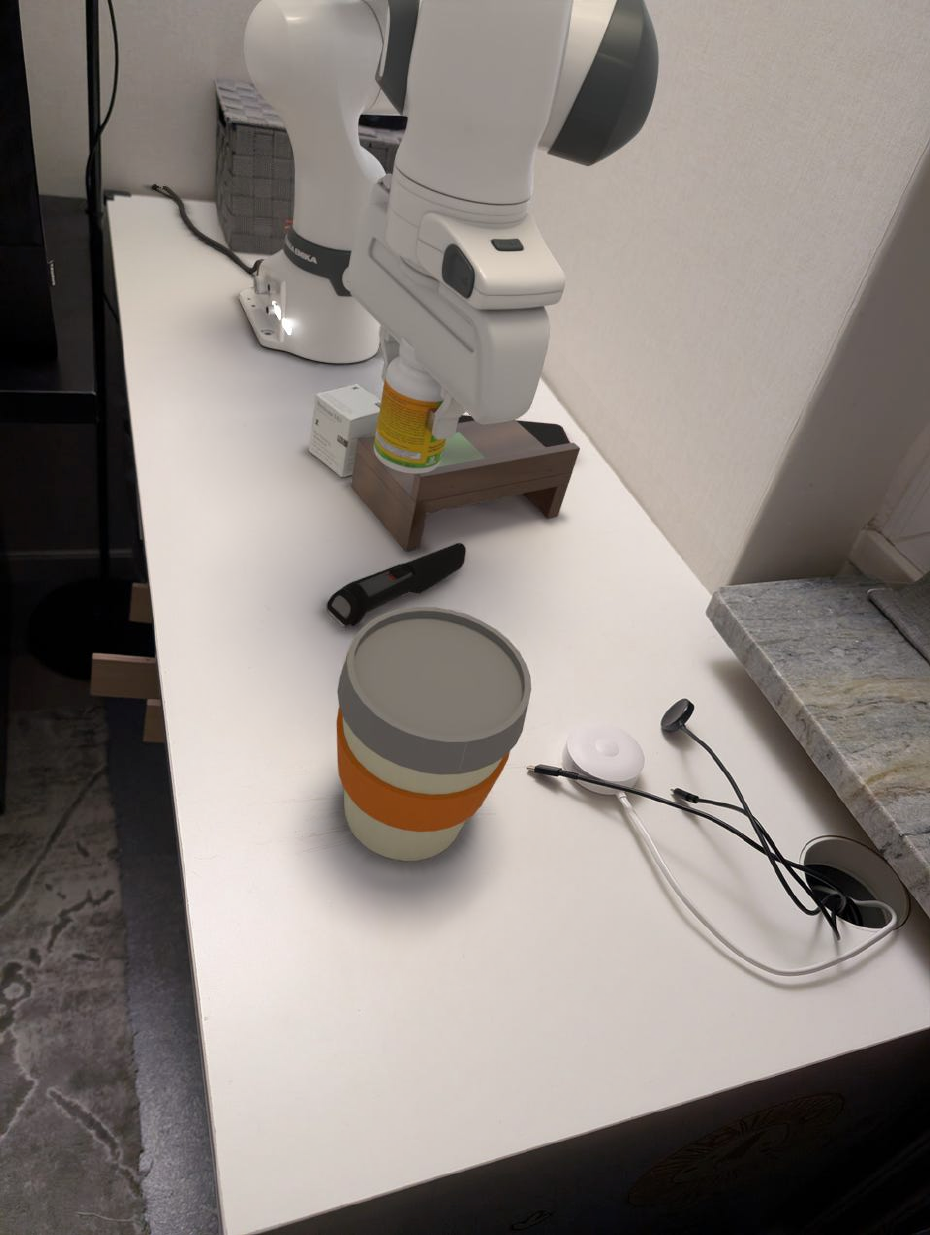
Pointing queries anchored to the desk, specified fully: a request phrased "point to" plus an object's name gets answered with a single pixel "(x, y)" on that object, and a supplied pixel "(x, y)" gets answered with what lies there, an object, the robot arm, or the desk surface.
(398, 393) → the supplement bottle
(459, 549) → the electric trimmer
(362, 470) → the shelf
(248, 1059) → the desk surface
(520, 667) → the reusable coffee cup
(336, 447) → the product carton
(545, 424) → the smartphone
